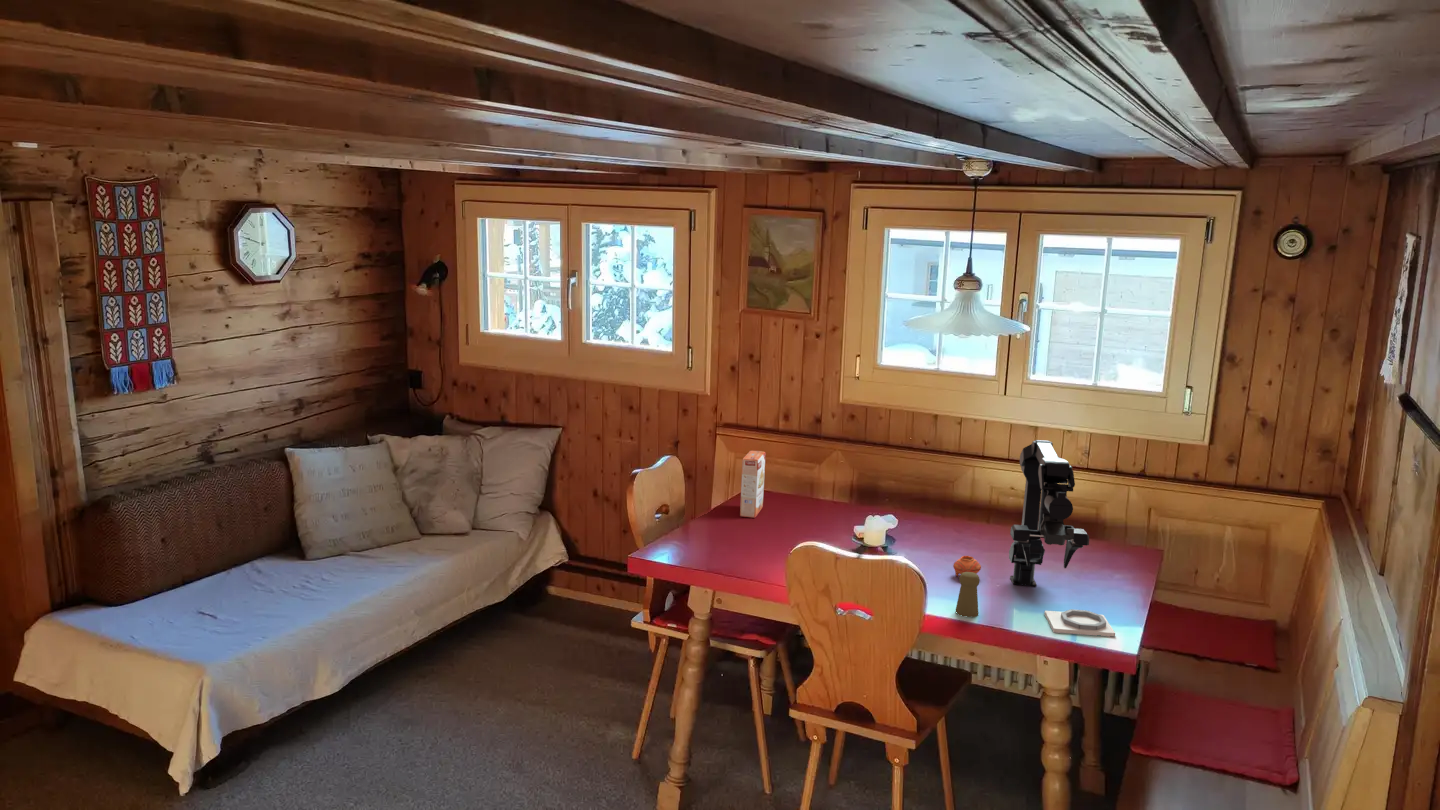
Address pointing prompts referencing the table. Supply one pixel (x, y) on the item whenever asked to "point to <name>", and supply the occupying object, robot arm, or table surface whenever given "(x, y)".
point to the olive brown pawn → (968, 595)
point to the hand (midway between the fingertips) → (1046, 566)
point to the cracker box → (752, 484)
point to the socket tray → (1079, 622)
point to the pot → (966, 565)
